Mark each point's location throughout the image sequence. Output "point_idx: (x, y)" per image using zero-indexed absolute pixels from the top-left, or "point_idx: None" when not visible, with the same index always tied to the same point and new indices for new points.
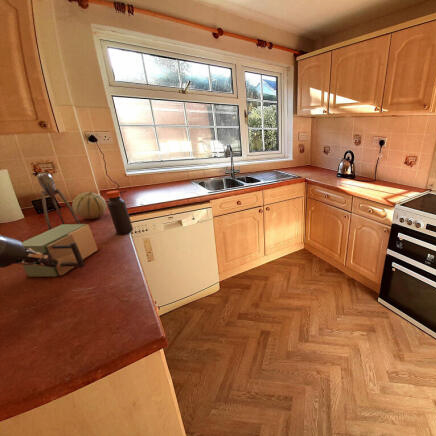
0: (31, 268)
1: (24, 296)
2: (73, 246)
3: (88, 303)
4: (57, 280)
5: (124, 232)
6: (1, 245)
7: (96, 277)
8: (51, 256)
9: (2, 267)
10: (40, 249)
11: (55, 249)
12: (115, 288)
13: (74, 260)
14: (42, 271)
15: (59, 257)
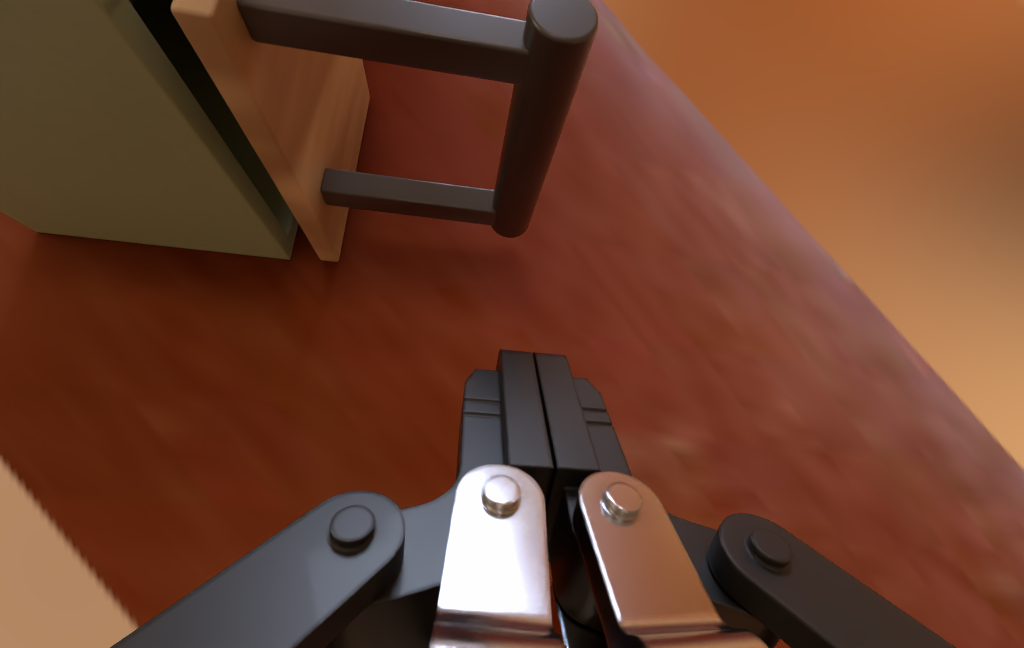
0: (35, 195)
1: (223, 515)
2: (575, 71)
3: None
4: (343, 317)
5: None
6: None
7: (620, 312)
8: (830, 570)
9: None
10: (74, 39)
11: (268, 46)
12: (851, 459)
13: (352, 111)
14: (161, 225)
15: (306, 131)
